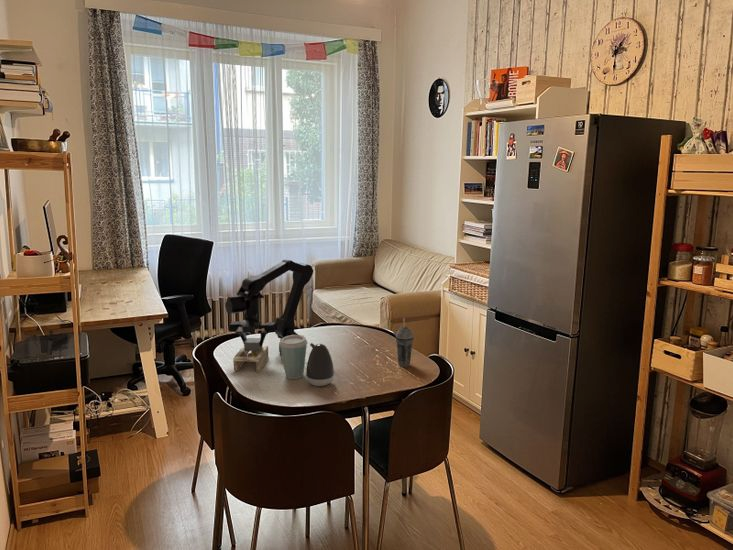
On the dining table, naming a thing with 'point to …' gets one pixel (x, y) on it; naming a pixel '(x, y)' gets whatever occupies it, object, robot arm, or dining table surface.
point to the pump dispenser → (319, 366)
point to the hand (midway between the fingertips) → (253, 347)
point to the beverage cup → (404, 345)
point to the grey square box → (252, 346)
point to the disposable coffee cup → (293, 355)
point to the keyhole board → (251, 358)
